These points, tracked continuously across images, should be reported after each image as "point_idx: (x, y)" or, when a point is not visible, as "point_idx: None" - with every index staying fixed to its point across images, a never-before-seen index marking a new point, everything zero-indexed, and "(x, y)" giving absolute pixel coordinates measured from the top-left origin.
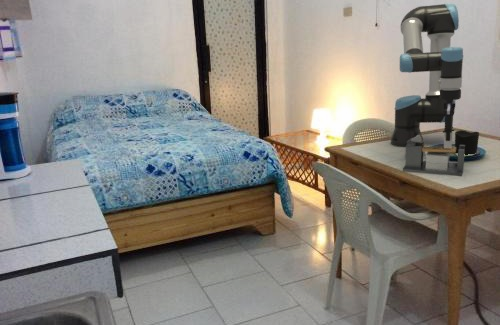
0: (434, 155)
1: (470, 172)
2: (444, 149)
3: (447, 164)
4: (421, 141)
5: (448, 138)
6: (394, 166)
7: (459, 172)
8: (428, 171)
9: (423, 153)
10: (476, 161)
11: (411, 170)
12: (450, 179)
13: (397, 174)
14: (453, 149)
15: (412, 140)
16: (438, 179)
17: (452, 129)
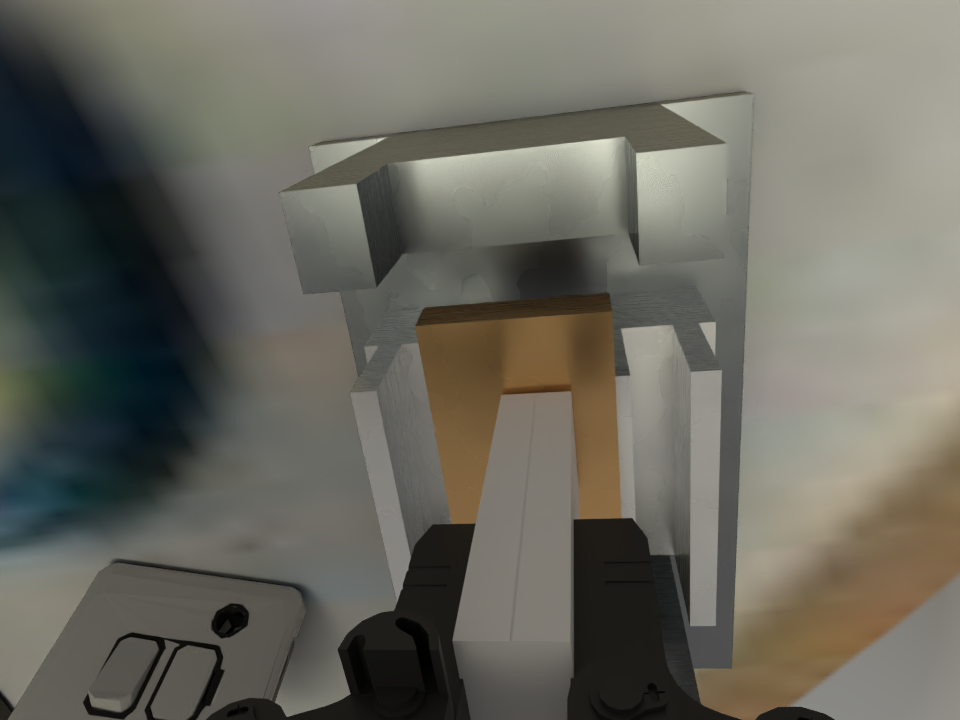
0: (716, 539)
1: (563, 12)
2: (614, 479)
3: (714, 319)
4: (44, 701)
5: (653, 585)
6: None
7: (717, 137)
8: (737, 462)
9: (145, 578)
10: (66, 16)
11: (731, 600)
12: (915, 205)
13: (827, 672)
14: (595, 350)
15: None
16: (934, 329)
17: (391, 696)
